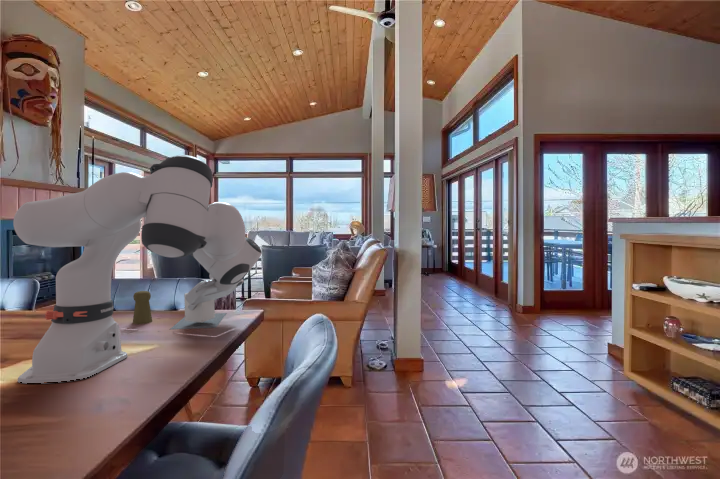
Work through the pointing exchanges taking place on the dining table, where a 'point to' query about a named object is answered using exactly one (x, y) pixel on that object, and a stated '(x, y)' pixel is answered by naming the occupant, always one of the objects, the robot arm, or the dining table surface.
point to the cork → (142, 308)
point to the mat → (200, 323)
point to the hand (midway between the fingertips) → (198, 306)
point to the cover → (200, 311)
